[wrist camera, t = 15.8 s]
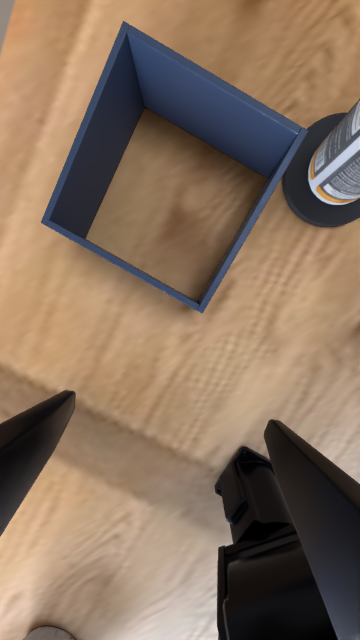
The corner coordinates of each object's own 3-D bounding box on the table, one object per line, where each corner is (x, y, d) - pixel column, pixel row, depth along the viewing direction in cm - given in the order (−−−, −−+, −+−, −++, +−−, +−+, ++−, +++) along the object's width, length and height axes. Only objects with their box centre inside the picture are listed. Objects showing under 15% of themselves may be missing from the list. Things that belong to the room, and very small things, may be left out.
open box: (275, 176, 18) (308, 130, 13) (199, 308, 20) (202, 313, 15) (142, 98, 17) (123, 19, 12) (78, 240, 19) (40, 222, 14)
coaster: (407, 151, 17) (415, 145, 16) (345, 245, 18) (350, 243, 17) (320, 98, 17) (325, 91, 16) (263, 197, 18) (265, 193, 17)
